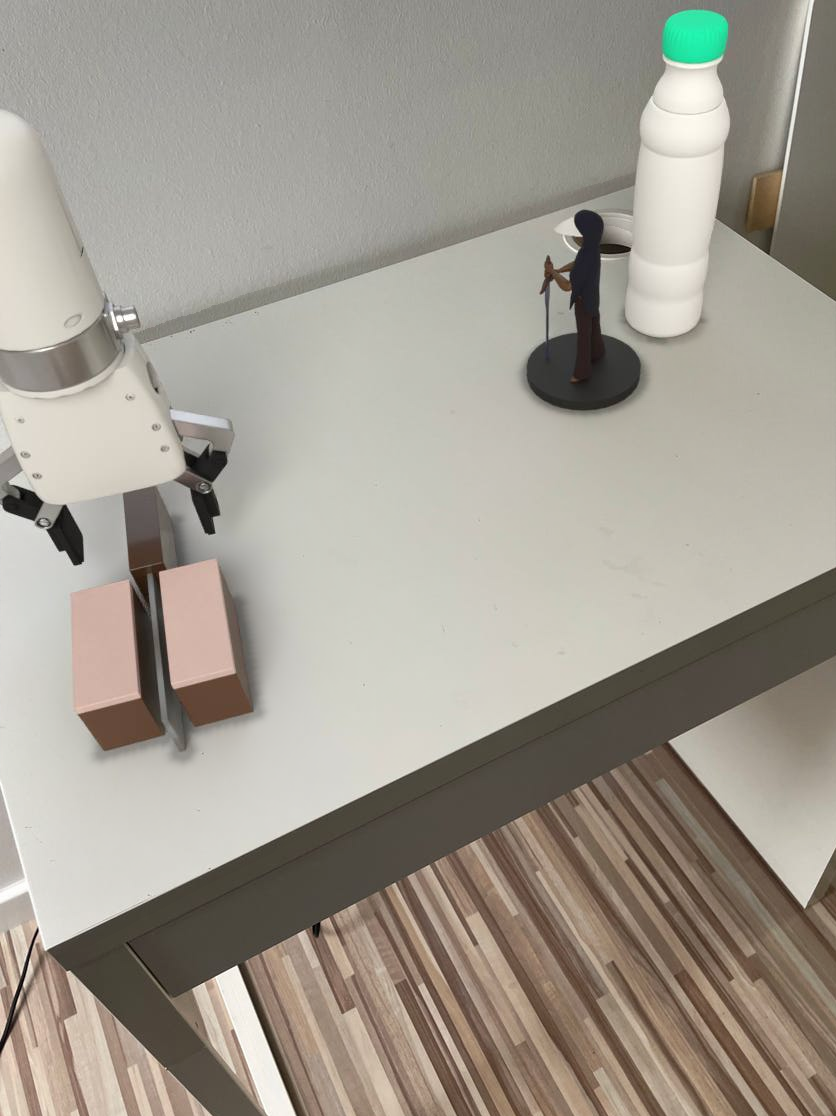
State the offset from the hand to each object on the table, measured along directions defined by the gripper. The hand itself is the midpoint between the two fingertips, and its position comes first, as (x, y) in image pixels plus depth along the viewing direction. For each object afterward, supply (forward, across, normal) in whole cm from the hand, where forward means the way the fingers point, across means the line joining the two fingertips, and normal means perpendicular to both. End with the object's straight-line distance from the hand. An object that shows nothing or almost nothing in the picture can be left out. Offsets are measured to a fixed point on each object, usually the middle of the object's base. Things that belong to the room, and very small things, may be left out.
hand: (144, 536), depth 70 cm
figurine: (+3, -39, -10) cm, 40 cm away
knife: (+3, 0, +7) cm, 8 cm away
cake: (+3, 0, +11) cm, 12 cm away
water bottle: (+3, -49, -16) cm, 51 cm away
